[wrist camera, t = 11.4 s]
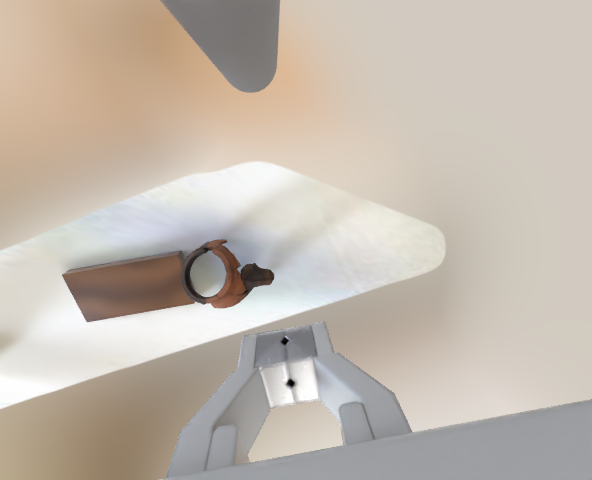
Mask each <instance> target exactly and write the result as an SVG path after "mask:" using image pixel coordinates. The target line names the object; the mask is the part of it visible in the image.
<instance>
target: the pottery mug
mask: <svg viewBox="0 0 592 480" xmlns="http://www.w3.org/2000/svg"><path fill="white" fill-rule="evenodd" d="M226 242H227V240H223V239H222V240H214V241H211V242H207V243H205V244H204V245H202V246H201V247H200V248H198V249H196V250H195V251H193V252H192V253H191V254H190V255H189V256H188V257H187V259H186V261H185V263H184V265H183V267H182V273H181V281H182V285H183V288H184V290H185V292H186V293H187V295H188V296H189V297H190V298H191V299H192V300H193V301H196V302H198V303H202V304H206V303H211V305H212V306H213V307H214V308H227V307H232V306H234V305H236V304H238V303H239V302H240V301H241V300H243V299H244V298H245V297H246V296H247V295H248V294H249V293H250V291H251V290H252V289H253V288H254V287H258V286H262V285H270V284H271V283H272V281H273V280H274V273H272V271H271V270H269V269H262V268H260V267H258V266H257V265H256V264H255V263H254V264H247V265H245V266H244V267H243V268H242V270H241V274H240V273H239V272H238V270H237V268H238V267H240V266H241V265H240V263H239V262H238V260H237V259H236V257H235V256H234V255H233V254H232V253H231V252H230V251H229V250H228V249H227V248H226V247H225V246H223V245H222V244H223V243H226ZM208 251H213V254H215V255H217V256H218V257H219V258H220V259H221V260H222V261H223V263H224V265H225V268H226V272H227V274H226V281H225V284H224V286H223V288H222V289H221V291H220V292H219V293H217V294H216V295H214V296H212V297H203V296H201V295H199V294H198V293H196V292H195V290H194V289H193V287H192V285H191V281H190V270H191V267H192V264H193V263H194V261H195V260H196V258H197V257H199V256H200V255H202V254H204V253H206V252H208Z"/></svg>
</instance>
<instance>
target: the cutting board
mask: <svg viewBox="0 0 592 480" xmlns="http://www.w3.org/2000/svg"><path fill="white" fill-rule="evenodd" d="M184 263H185V261H184V258H183V255H182V252H181V251H176V252H171V253H165V254H159V255H153V256H147V257H142V258H136V259H130V260H124V261H119V262H113V263H107V264H101V265H95V266H90V267H84V268H78V269H72V270H69V271H67V272H66V273H64V274H63V275H62V276H63V278H64V280H65V282H66V284H67V286H68V288H69V289H70V291H71V293H72V295H73V297H74V299H75V301H76V303H77V305H78V306H79V308H80V310H81V312H82V314H83V316H84V318H85V320H86V322H91V321H97V320H103V319H108V318H114V317H120V316H125V315H131V314H137V313H142V312H148V311H154V310H159V309H165V308H171V307H177V306H182V305H188V304H194V303H195V301H193V300H192V299H191V298H190V297H189V296H188V295H187V293H186V292H185V290H184V288H183V285H182V281H181V273H182V267H183V265H184ZM190 281H191V278H190ZM191 285H192V287H193V284H192V281H191ZM193 289H194V287H193Z"/></svg>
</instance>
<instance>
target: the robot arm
mask: <svg viewBox="0 0 592 480" xmlns="http://www.w3.org/2000/svg"><path fill="white" fill-rule="evenodd" d="M316 400H321V402H322V403H323V404H324V406H325V407H326V408H327V409H328V410H329V411H330V413H331V414H332V415H333V416H334V417H335V418H336V420H337V421H338V422H339V423H340V425H341V432H342V440H343V446H337V447H332V448H327V449H321V450H316V451H310V452H306V453H300V454H295V455H289V456H284V457H278V458H273V459H267V460H262V461H257V462H252V463H250V461H249V458H248V453H249V451H250V449H251V447H252V445H253V443H254V441H255V439H256V437H257V435H258V434H259V431H260V429H261V428H262V426H263V424H264V422H265V420H266V418H267V416H268V414H269V412H270V409H273V408H277V407H282V406H287V405H291V404H295V403H303V402H310V401H316ZM160 480H592V399H590V400H585V401H580V402H574V403H569V404H564V405H558V406H553V407H547V408H542V409H537V410H531V411H526V412H520V413H515V414H510V415H505V416H499V417H494V418H488V419H483V420H477V421H472V422H467V423H461V424H456V425H450V426H445V427H439V428H434V429H429V430H424V431H418V432H412V430H411V428H410V426H409V424H408V421H407V419H406V417H405V415H404V413H403V411H402V409H401V407H400V404H399V402H398V400H397V398H396V396H395V394H394V393H393V392H392V391H390V390H389V389H388V388H386V387H385V386H383V385H382V384H381V383H379V382H378V381H377V380H375V379H374V378H372V377H371V376H370V375H368V374H367V373H366V372H364V371H363V370H362V369H360V368H359V367H358V366H356V365H355V364H353V363H352V362H351V361H349V360H348V359H347V358H345V357H344V356H342V355H341V354H340V353H334V351H333V347H332V343H331V339H330V336H329V332H328V329H327V325H326V322H325V321H323V322H318V323H314V324H311V325H305V326H300V327H295V328H289V329H282V330H276V331H269V332H263V333H258V334H251V335H245V336H244V337H243V338H242V344H241V351H240V357H239V363H238V370H237V371H234V372H233V373H232V374H231V375H230V376H229V377H228V378H227V379H226V380H225V382H224V383H223V384H222V385H221V386H220V387H219V389H218V390H217V391H216V392H215V393H214V394H213V395H212V397H211V398H210V399H209V400H208V401H207V402H206V403H205V405H204V406H203V407H202V408H201V409H200V410H199V411H198V413H197V414H196V415H195V416H194V417H193V418H192V420H191V421H190V422H189V423H188V424H187V425H186V426H185V428H184V429H183V430H182V431H181V432H180V435H179V439H178V442H177V445H176V448H175V451H174V454H173V457H172V460H171V464H170V467H169V470H168V473H167V476H166V478H165V479H160Z"/></svg>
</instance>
